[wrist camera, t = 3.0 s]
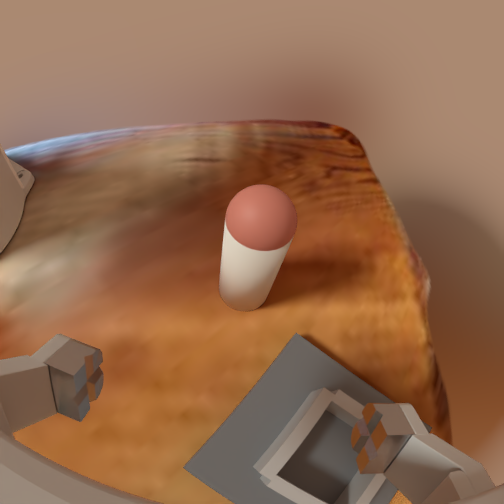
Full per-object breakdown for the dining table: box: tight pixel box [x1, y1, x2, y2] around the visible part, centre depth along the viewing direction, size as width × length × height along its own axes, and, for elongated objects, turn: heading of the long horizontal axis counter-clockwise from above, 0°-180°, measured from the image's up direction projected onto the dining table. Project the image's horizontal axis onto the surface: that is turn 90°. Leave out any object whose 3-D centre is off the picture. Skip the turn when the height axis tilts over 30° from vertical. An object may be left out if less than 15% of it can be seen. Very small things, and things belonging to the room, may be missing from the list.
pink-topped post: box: [219, 184, 297, 311], centre depth 22 cm, size 4×4×12 cm
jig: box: [183, 333, 432, 504], centre depth 19 cm, size 16×14×4 cm
